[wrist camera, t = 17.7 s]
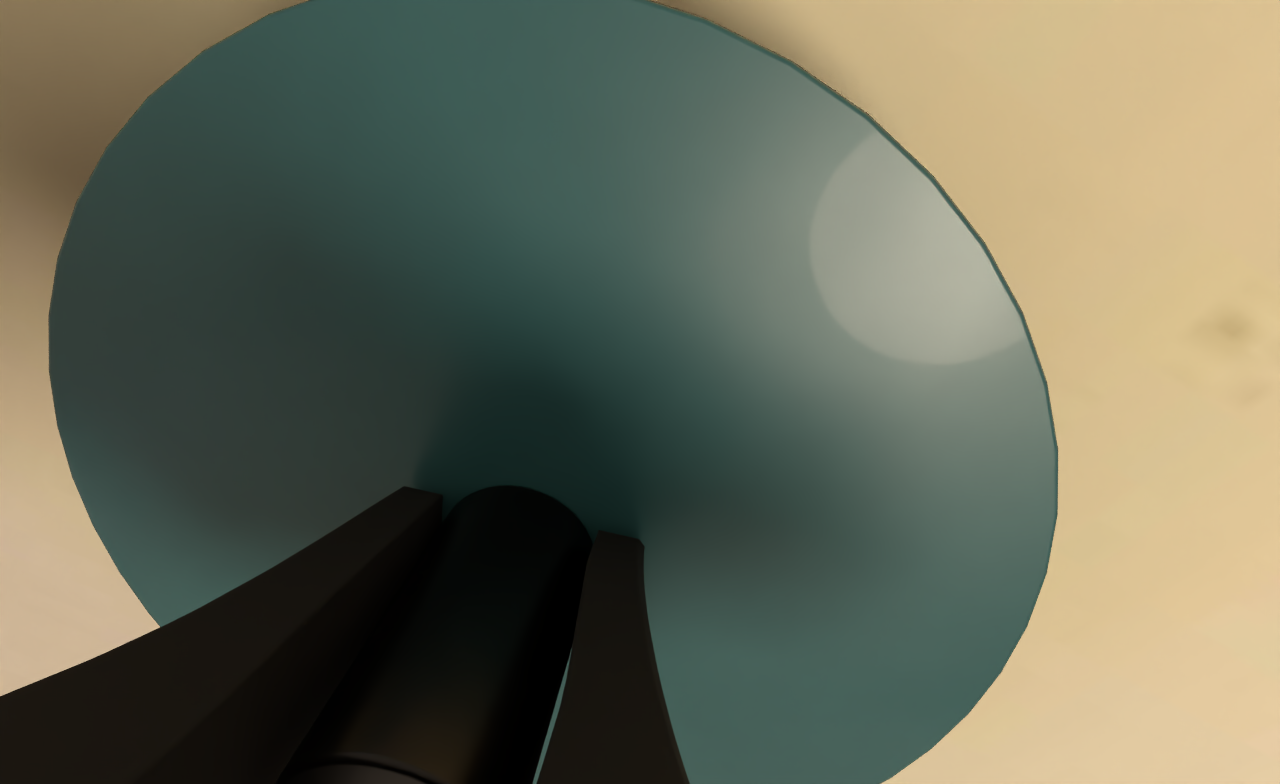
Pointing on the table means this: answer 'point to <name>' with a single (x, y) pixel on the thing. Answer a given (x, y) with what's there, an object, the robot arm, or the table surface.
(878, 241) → the tin lid
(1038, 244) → the table surface
